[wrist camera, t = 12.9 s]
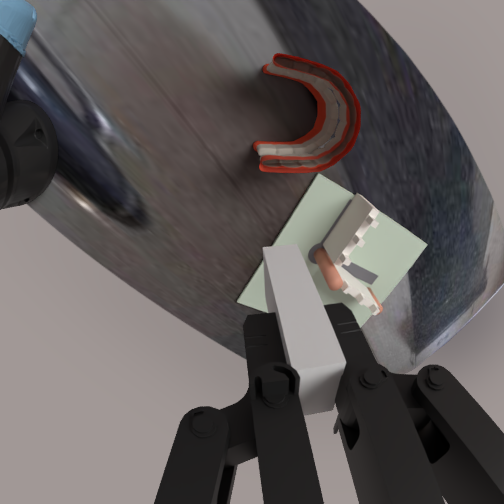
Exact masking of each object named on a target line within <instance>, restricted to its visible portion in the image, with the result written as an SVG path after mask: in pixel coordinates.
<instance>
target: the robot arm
mask: <svg viewBox="0 0 504 504" xmlns="http://www.w3.org/2000/svg"><path fill="white" fill-rule="evenodd" d="M36 21H37V13H36V10H35V9H34V7H33V6H32V5H31V4H29V3H28V2H26V1H25V0H0V210H1V209H4V208H9V207H14V206H20V205H24V204H27V203H29V202H31V201H32V200H34V199H35V198H36V197H37V196H39V195H40V194H41V193H42V192H43V191H44V190H45V189H46V188H47V187H48V185H49V184H50V182H51V180H52V178H53V176H54V173H55V170H56V166H57V161H58V142H57V136H56V132H55V129H54V127H53V124H52V122H51V120H50V118H49V117H48V115H47V114H46V113H45V112H44V110H43V109H42V108H40V107H39V106H38V105H36V104H35V103H33V102H30V101H26V100H16V101H12V102H7V103H6V101H7V98H8V95H9V92H10V89H11V86H12V83H13V80H14V78H15V75H16V72H17V70H18V67H19V65H20V62H21V60H22V57H24V56H25V53H26V51H25V49H26V46H27V44H28V41H29V39H30V36H31V34H32V31H33V29H34V27H35V24H36ZM263 262H264V283H265V299H266V304H267V309H268V313H263V314H254V315H248V316H247V318H246V320H245V322H244V325H243V330H244V340H245V349H246V358H247V368H248V376H249V388H248V390H247V393H246V394H245V396H244V397H243V398H242V399H241V400H240V401H238V402H237V403H235V404H233V405H231V406H228V407H226V408H223V409H220V410H218V409H216V408H213V407H209V406H206V407H197V408H194V409H192V410H190V411H189V412H188V413H186V414H185V415H184V417H183V418H182V420H181V422H180V424H179V428H178V431H177V434H176V437H175V440H174V443H173V446H172V449H171V452H170V455H169V458H168V461H167V464H166V467H165V470H164V474H163V477H162V480H161V483H160V486H159V489H158V492H157V495H156V499H155V502H154V504H230V499H231V494H232V490H233V485H234V480H235V475H236V470H237V465H238V464H240V463H243V462H245V461H248V460H250V459H253V458H255V457H258V462H259V470H260V478H261V485H262V493H263V500H264V504H324V502H323V498H322V493H321V488H320V484H319V480H318V475H317V471H316V466H315V462H314V458H313V453H312V449H311V445H310V440H309V436H308V432H307V427H306V423H305V419H304V415H309V414H315V413H320V412H325V411H331V410H333V408H334V405H335V403H336V407H337V410H338V413H339V414H338V417H337V420H336V423H335V426H334V434H336V433H337V431H338V429H339V432H340V436H341V439H342V443H343V446H344V450H345V453H346V457H347V461H348V464H349V468H350V471H351V475H352V479H353V482H354V486H355V489H356V493H357V497H358V501H359V504H445V502H444V500H443V497H444V499H445V500H446V501H447V503H448V504H504V433H503V432H502V431H501V430H500V428H499V427H498V426H497V425H496V424H495V423H494V421H493V420H492V419H491V418H490V417H489V415H488V414H487V413H486V412H485V411H484V410H483V409H482V407H481V406H480V405H479V404H478V403H477V402H476V401H475V399H474V398H473V397H472V396H471V395H470V394H469V393H468V392H467V391H466V389H465V388H464V387H463V386H462V385H461V384H460V383H459V382H458V380H457V379H456V378H455V377H454V376H453V375H452V374H451V373H450V372H449V371H448V370H447V369H445V368H444V367H442V366H439V365H428V366H425V367H423V368H422V369H421V370H420V371H419V372H418V374H417V375H406V374H394V373H391V372H389V371H388V369H387V368H385V367H383V366H382V365H380V364H378V363H377V361H376V360H375V358H374V355H373V353H372V351H371V349H370V347H369V345H368V343H367V341H366V339H365V337H364V335H363V333H362V331H361V328H360V326H359V324H358V323H357V320H356V318H355V316H354V314H353V312H352V310H350V309H349V308H348V307H347V306H346V305H344V304H343V303H342V302H341V303H334V304H327V305H323V303H322V301H321V298H320V296H319V294H318V291H317V289H316V286H315V284H314V282H313V279H312V277H311V275H310V272H309V270H308V268H307V266H306V263H305V261H304V259H303V256H302V254H301V252H300V250H299V247H298V245H297V244H291V245H281V246H271V247H263ZM442 496H443V497H442Z"/></svg>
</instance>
